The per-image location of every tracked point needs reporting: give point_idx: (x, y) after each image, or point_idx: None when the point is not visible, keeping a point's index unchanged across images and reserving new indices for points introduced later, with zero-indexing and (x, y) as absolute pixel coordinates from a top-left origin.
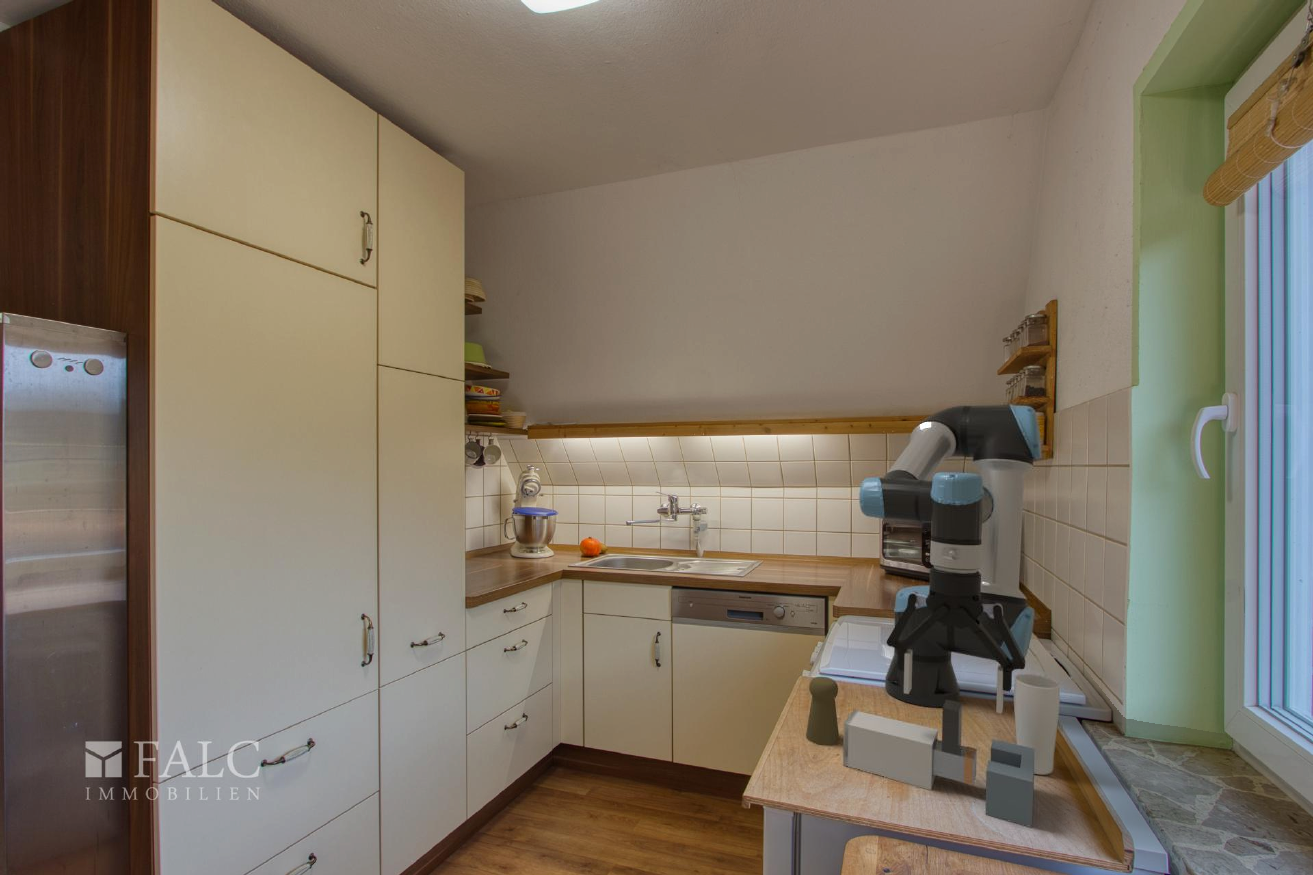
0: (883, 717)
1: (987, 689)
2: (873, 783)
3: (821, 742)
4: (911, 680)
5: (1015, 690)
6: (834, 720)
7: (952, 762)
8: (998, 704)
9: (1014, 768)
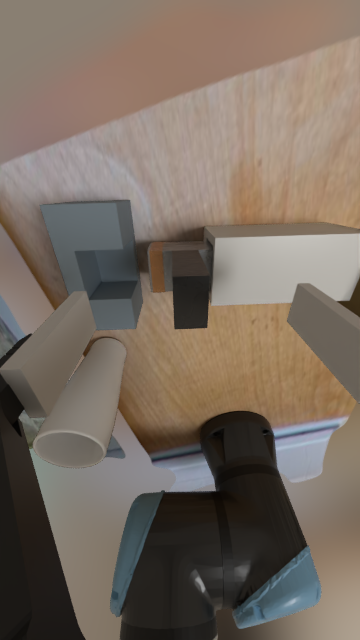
0: None
1: (179, 461)
2: (281, 193)
3: None
4: (298, 330)
5: (105, 422)
6: (357, 295)
7: (180, 247)
8: (72, 299)
9: (80, 243)
